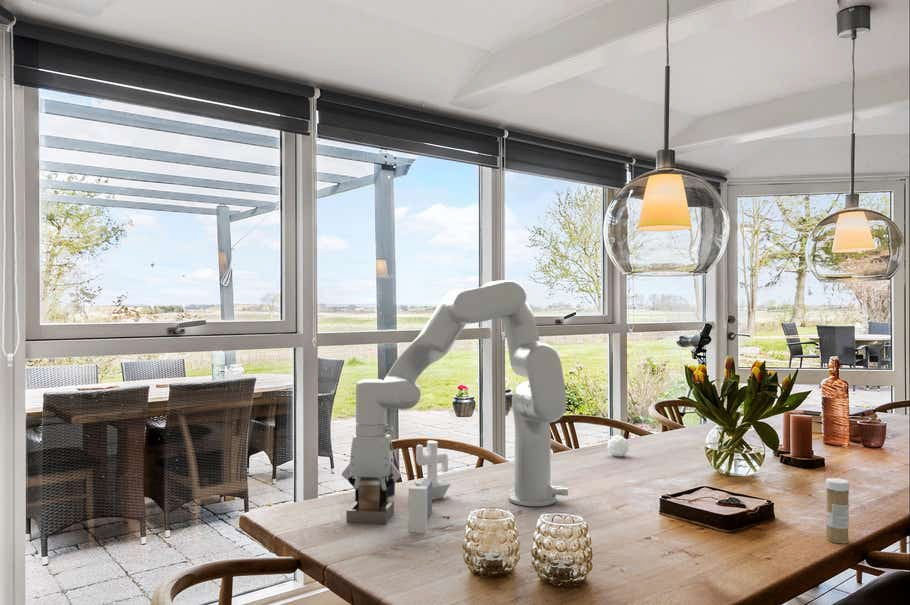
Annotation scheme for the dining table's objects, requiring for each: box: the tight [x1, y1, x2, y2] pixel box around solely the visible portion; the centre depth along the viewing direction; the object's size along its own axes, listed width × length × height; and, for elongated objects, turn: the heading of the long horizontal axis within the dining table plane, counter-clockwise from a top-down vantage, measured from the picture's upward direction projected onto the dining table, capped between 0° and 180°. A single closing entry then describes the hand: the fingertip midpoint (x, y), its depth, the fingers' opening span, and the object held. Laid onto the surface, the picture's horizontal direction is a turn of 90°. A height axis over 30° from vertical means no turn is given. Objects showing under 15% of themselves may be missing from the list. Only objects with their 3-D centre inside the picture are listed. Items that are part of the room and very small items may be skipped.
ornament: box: [606, 435, 630, 458], centre depth 233 cm, size 7×7×8 cm
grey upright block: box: [407, 478, 433, 534], centre depth 162 cm, size 4×16×10 cm, turn 173°
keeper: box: [345, 499, 395, 526], centre depth 165 cm, size 10×10×3 cm
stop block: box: [358, 478, 384, 511], centre depth 165 cm, size 5×5×8 cm
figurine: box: [413, 439, 451, 500], centre depth 183 cm, size 7×9×15 cm
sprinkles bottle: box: [825, 477, 851, 544], centre depth 150 cm, size 5×5×14 cm
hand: (371, 504), depth 165 cm, fingers closed on stop block, 4 cm apart
